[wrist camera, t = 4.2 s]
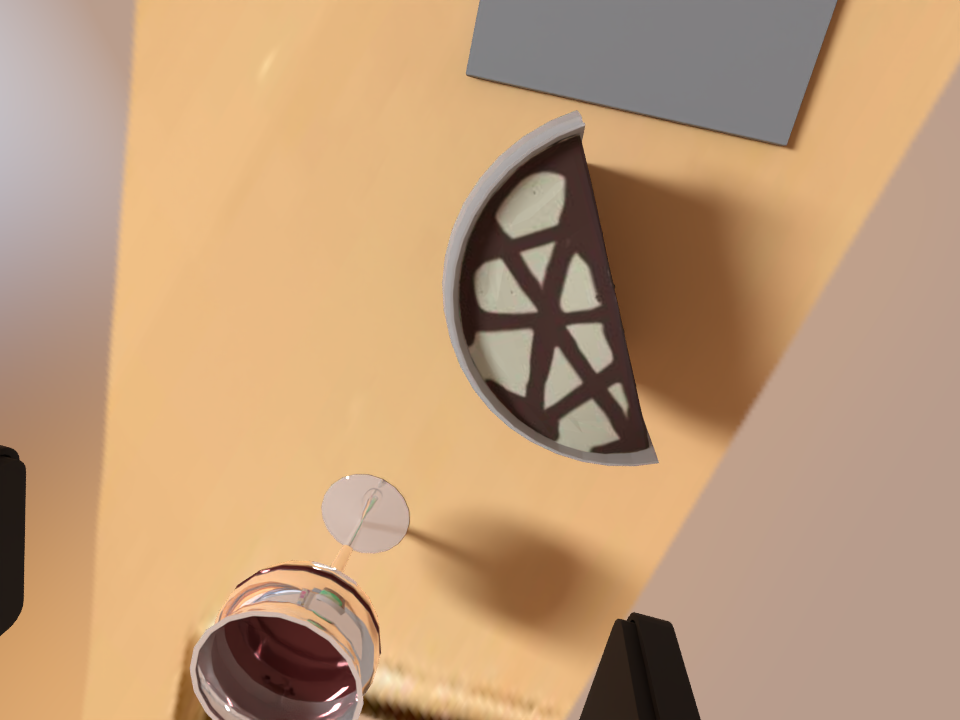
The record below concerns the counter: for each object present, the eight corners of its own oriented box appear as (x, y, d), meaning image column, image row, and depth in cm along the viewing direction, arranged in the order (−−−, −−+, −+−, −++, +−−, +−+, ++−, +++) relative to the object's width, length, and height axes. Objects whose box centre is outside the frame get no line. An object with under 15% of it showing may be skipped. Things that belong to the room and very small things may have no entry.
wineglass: (322, 571, 36) (218, 760, 24) (292, 466, 34) (165, 616, 23) (435, 561, 35) (382, 752, 23) (412, 452, 33) (341, 601, 22)
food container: (437, 165, 29) (383, 163, 19) (568, 126, 28) (580, 103, 18) (505, 408, 32) (489, 510, 22) (625, 381, 31) (661, 477, 21)
